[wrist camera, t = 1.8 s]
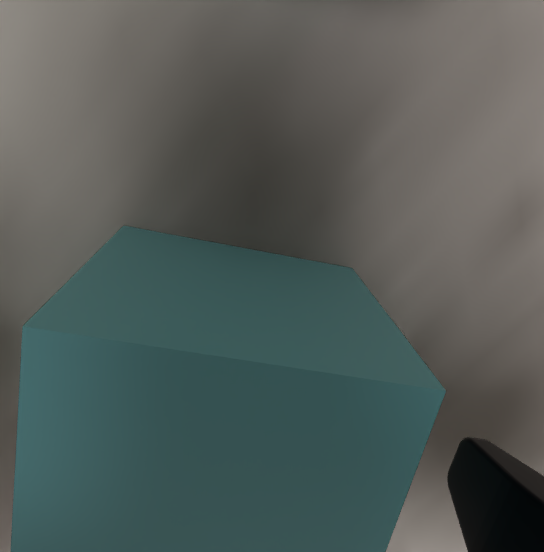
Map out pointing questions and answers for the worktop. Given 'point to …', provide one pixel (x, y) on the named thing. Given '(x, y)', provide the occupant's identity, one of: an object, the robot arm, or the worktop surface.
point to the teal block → (215, 406)
